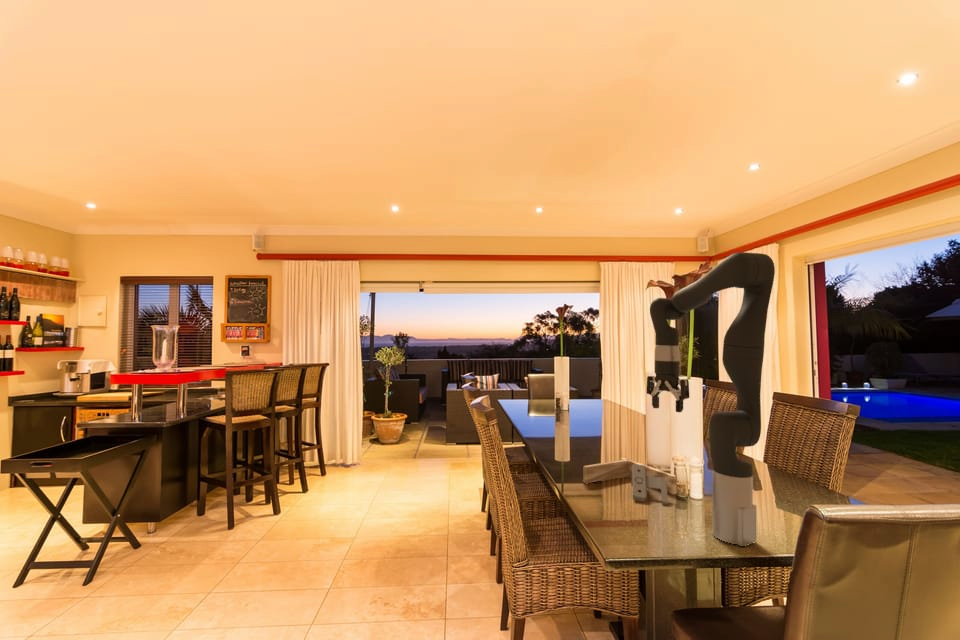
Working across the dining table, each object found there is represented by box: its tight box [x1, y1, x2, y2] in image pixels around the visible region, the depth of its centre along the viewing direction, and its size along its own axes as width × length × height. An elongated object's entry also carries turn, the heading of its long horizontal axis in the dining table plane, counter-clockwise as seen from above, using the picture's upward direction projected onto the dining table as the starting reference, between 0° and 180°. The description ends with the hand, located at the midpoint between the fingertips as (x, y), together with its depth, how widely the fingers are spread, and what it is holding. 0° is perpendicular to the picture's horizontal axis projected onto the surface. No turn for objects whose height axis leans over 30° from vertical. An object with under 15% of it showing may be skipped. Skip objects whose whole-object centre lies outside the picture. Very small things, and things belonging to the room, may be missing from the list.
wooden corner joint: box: [582, 457, 677, 495], centre depth 152 cm, size 24×22×6 cm
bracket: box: [631, 464, 669, 506], centre depth 146 cm, size 10×14×10 cm
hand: (667, 410), depth 140 cm, fingers open, 8 cm apart
